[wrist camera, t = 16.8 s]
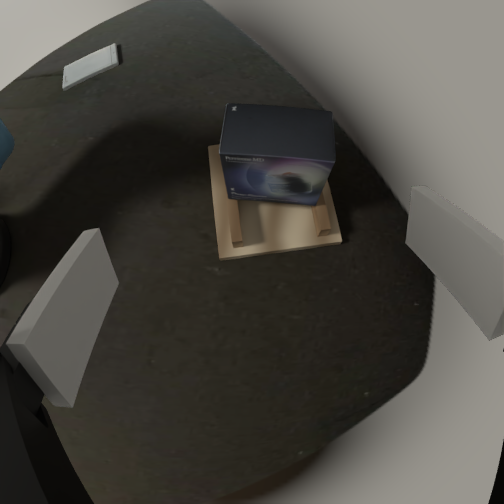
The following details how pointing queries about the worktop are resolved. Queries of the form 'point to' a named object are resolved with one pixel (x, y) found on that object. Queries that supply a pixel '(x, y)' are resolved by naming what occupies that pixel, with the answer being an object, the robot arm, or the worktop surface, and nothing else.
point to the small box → (276, 153)
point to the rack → (268, 221)
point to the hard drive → (90, 66)
